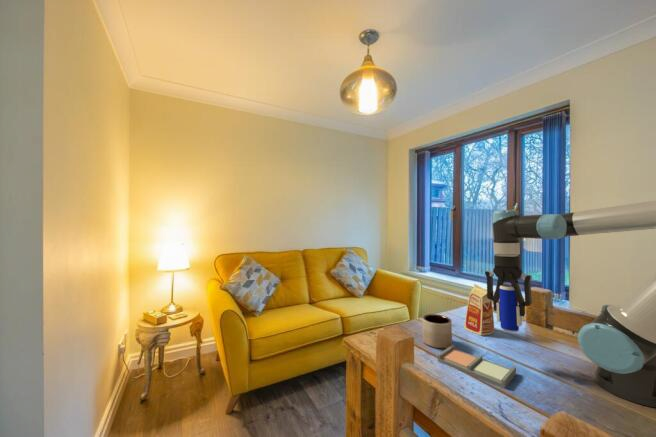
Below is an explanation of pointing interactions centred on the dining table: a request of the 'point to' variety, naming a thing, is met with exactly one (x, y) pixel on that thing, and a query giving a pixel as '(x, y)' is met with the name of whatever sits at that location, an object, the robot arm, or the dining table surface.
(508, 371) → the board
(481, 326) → the milk carton
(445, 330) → the planter
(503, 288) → the beverage can
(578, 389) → the dining table surface
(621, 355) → the robot arm
